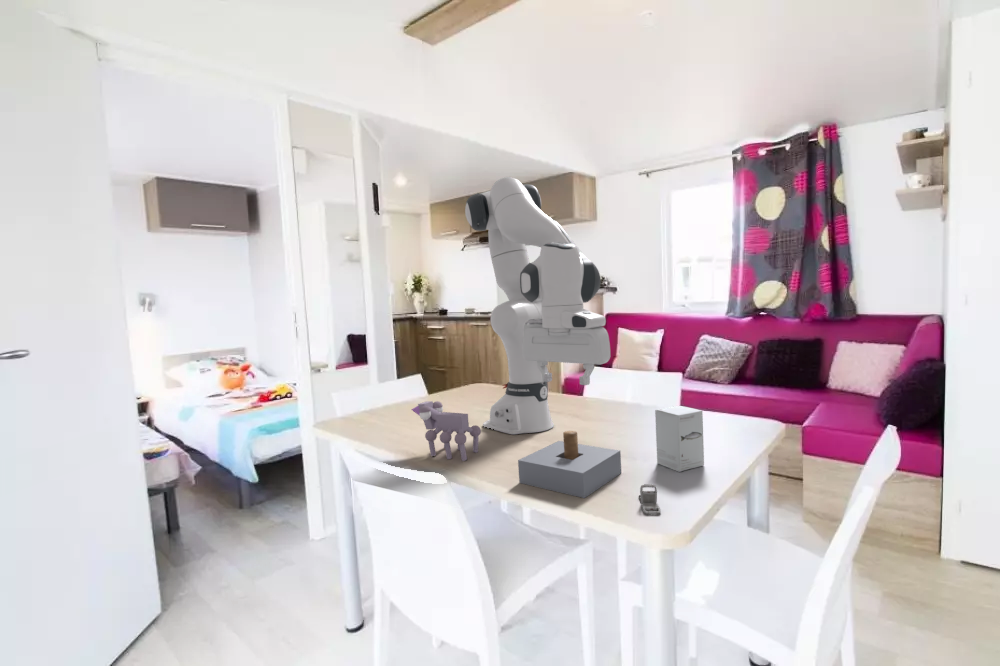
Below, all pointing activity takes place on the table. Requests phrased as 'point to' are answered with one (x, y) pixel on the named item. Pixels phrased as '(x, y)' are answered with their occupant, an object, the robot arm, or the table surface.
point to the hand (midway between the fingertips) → (565, 382)
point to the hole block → (570, 469)
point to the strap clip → (649, 501)
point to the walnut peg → (570, 445)
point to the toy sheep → (446, 427)
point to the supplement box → (679, 437)
